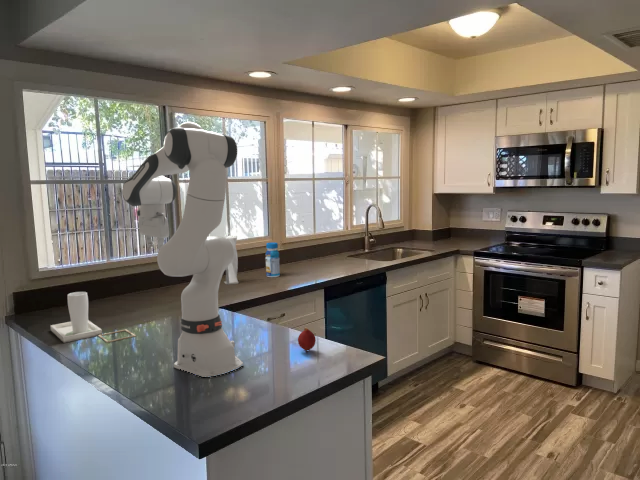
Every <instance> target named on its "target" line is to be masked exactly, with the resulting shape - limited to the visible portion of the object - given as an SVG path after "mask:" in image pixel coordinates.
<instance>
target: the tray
mask: <svg viewBox="0 0 640 480" xmlns="http://www.w3.org/2000/svg"><path fill="white" fill-rule="evenodd" d="M50 331H51V332H52V333H53V334H54V335H55V336H56V337H57V338H58V339H59V340H60V341H61V342H62V343H64V344H65V343H69V342H74V341H79V340H80V341H81V340H84V339H89V338H93V337H94V338H95V337H97V336H98V335H102V334H103V330H102V328H101V327H99V326H98V325H96V324H94V323H93V322H92V321H91V320H89V319H88V332H84V333H79V334H73V330H72V324H71V321H67V322H66V321H65V322H62V323H56V324H52V325H51V324H50ZM98 337H99V336H98Z"/></svg>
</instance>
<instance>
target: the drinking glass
mask: <svg viewBox="0 0 640 480" xmlns="http://www.w3.org/2000/svg"><path fill="white" fill-rule="evenodd" d="M66 299H67V306H68V313H69V317H70V322H71V324H72V330H73V334H79V333H84V332H88V320H89V296H88V292H86V291H75V292H70V293H68V294H67V298H66Z"/></svg>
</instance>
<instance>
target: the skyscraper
mask: <svg viewBox="0 0 640 480" xmlns="http://www.w3.org/2000/svg"><path fill="white" fill-rule="evenodd" d="M230 234H231V233H230V232H227V233H225V234H224V236H223V237H225V238H227V239H228V240H229V241H230V242H231V244H232V246H233V249H234V256H233V260H232V262H231V263H230V264H229V265H228V266H227V268H226V269H225V281H223V283H224V284H225V285H237V284H239V283H240V282H239V281H238V276H237V275H238V266H239V261H238V258H239V257H238V250H237V247H236V245H237V240H238V236H237V235H234V236H233V235H230ZM227 235H228V236H227Z"/></svg>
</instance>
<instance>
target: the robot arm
mask: <svg viewBox="0 0 640 480" xmlns="http://www.w3.org/2000/svg"><path fill="white" fill-rule="evenodd" d="M237 157H238V145H237V142H236V141H235V139H234V138H233V137H232V136H230V135H228V134H225V133H218V132H215V131H214V132H213V131H209V130H204V128H203V127H202V126H201V125H199V124H198V123H196V122H193V121H187V122H183V123H181V124H180V125H179V126H177V127H172V128H170V129H169V130H168V131H166V134H165V137H164V141H163V146H162V147H161V148H159V150H157V151H156V152H154V153H152V154H150V155H149V156H148V157H146V158H145V160H144V161H143V162H142V164H141V165H140V166H139V167H138V169H137V170H136V171H135V172H134V173H133V174H132V175H131V176H129V178H128V179H126V181H124V182H123V185H122V189H121V190H122V197H123V199H124V201H125V202H126V203H127V204H129V205H130V206H131V207H139V206H140V207H139V209H137V210H136V216H137V217H138V218H137V219H138V220H137V221H138V229H139V233H140V234H141V235H143V236H144V237H145V241H146V243H147V244H146V245H147V247H149V248H151V247H153V246H154V242H153V239H152V238H153V237H154V238H156V239H157V243H156V249H157V250H158V253H157V254H156V255H157V259H156V261H157V265H158V268H159V270H160V271H161V272H162V273H163V274H164V275H165V276H168V277H187V276H192V278H191V280H190V283H189V284H188V285H187V286H185V288H184V289H183V290H182V292H181V295H180V300H181V301H180V302H181V317H180V330H181V334H180V336H179V337H178V339H177V360H176V361H175V362H174V363H173V368H175V369H177V370H180V369H181V371H183V370H184V371H183V372H185V371H187V372H186V373H188V372H190V373H189V374H191V373H193V374H196V375H199V376H202V377H205V376H206V377H208V376H214V375H218V374H222V373H225V372H228V371H231V370H233V369H236V368H238V367H240V366H241V365H242V364H243V365H244V362H243V361H242V360H241V359H240V358H239V357H237V355H236V353H235V347H236V344H235V341H234V340H230V339H229V337H228V335H227V334H226V333H225V331H224V329H223V320H222V318H221V317H220V314H219V289H220V284H221V280H222V277H223V275H224V272H226V268H227V266H228V265H229V264H230V263H231V262H232V260H233V256H234V249H233V246H232V244H231V242H230V241H229V240H228V239H227V237H226V236H225V237H224V236H218V235H211V233H212V232H213V231H214V230H216V229H217V228H218V227H219V226H220V224H221V222H222V219H223V213H224V205H225V200H226V192H227V168H230V167H232V166H233V165H234V163H235V162H236V160H237ZM188 171H189V180H188V185H187V191H186V197H185V205H184V209H183V215H182V218H181V221H180V222H179V225H178V227H177V229H176V230H175V232H174V233H173V234H172V236H171V238H170V239H168V240H167V242H166V243H164V242H165V239H166V238H169V236H170V228H169V226H170V225H169V221H168V217H166V208H165V207H166V205H167V204H171V203H173V202H174V201H175V200H176V198H177V195H178V193H177V184H176V183H175V182H174V181H173V180H172V178H171V179H170V178H168V177H165V176H170V175H180V174H184V173H186V172H188ZM193 374H192V375H193ZM196 375H195V376H196ZM199 376H198V377H199Z"/></svg>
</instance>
